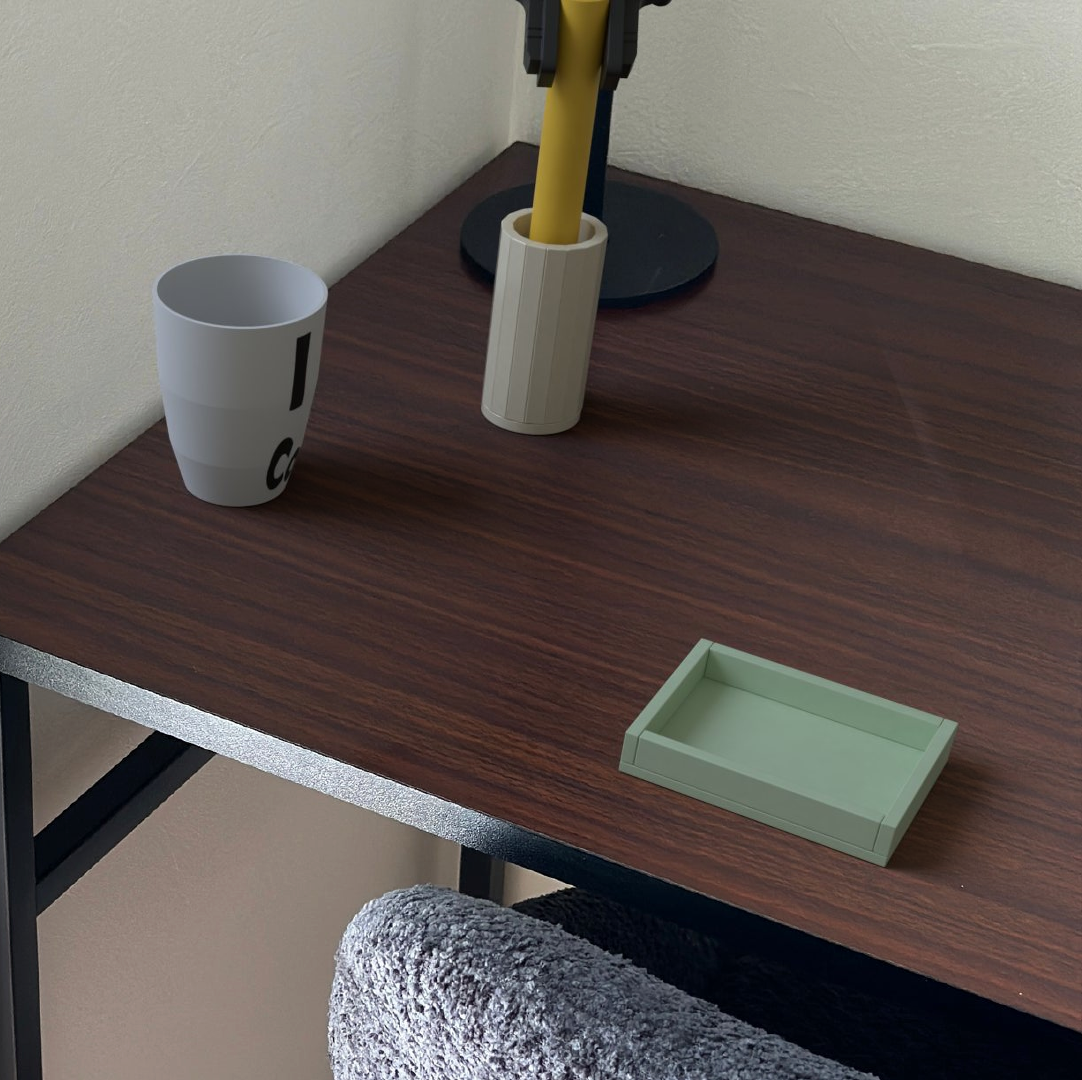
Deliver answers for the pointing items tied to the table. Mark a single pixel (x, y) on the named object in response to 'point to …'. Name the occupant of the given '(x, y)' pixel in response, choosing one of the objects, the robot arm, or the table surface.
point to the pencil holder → (541, 327)
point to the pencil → (569, 123)
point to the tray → (789, 750)
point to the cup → (238, 370)
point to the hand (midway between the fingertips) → (579, 79)
